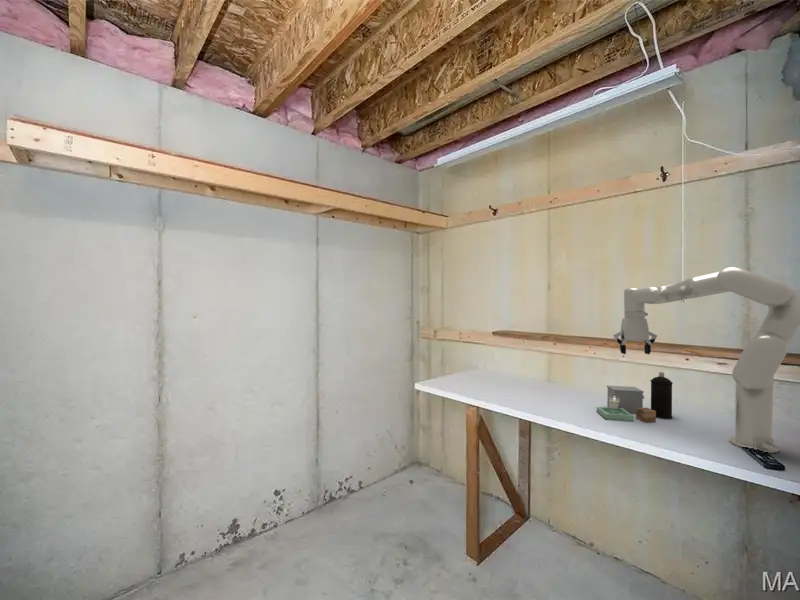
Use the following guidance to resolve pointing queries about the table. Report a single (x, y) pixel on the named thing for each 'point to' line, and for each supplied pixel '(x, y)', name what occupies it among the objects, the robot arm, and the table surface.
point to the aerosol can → (661, 396)
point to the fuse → (614, 405)
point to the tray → (621, 416)
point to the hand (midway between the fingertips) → (635, 353)
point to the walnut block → (646, 415)
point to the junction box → (627, 397)
